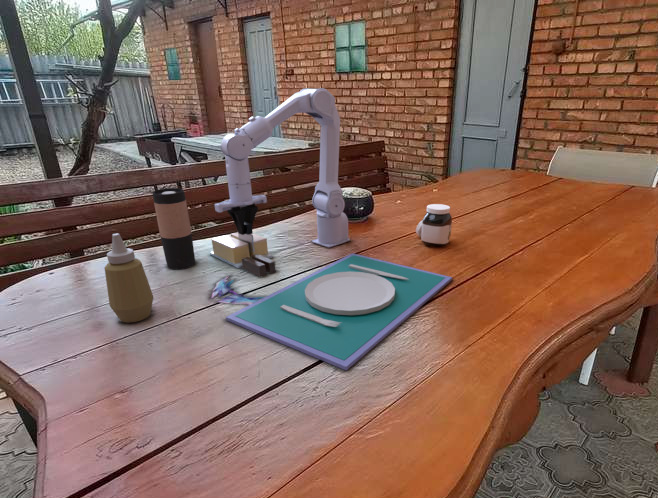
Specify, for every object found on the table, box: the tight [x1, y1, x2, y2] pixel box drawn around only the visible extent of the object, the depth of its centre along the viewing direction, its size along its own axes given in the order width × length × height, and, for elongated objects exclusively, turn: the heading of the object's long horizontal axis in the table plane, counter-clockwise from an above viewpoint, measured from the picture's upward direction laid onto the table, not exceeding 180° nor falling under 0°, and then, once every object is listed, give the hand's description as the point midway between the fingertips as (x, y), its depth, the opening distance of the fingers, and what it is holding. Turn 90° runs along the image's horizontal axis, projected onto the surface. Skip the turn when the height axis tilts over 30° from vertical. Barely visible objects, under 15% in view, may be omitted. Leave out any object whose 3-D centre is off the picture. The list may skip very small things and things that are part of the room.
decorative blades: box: [211, 275, 265, 306], centre depth 99 cm, size 20×1×10 cm
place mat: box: [225, 252, 453, 371], centre depth 96 cm, size 45×30×2 cm
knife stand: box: [242, 254, 277, 278], centre depth 111 cm, size 5×8×3 cm, turn 47°
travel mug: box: [151, 187, 196, 270], centre depth 111 cm, size 8×8×20 cm
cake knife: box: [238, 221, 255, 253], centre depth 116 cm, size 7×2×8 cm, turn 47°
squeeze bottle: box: [104, 232, 154, 324], centre depth 85 cm, size 8×8×18 cm
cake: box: [209, 231, 274, 269], centre depth 120 cm, size 11×15×5 cm
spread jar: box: [415, 203, 453, 248], centre depth 130 cm, size 12×11×12 cm
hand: (245, 233), depth 116 cm, fingers closed on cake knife, 2 cm apart
